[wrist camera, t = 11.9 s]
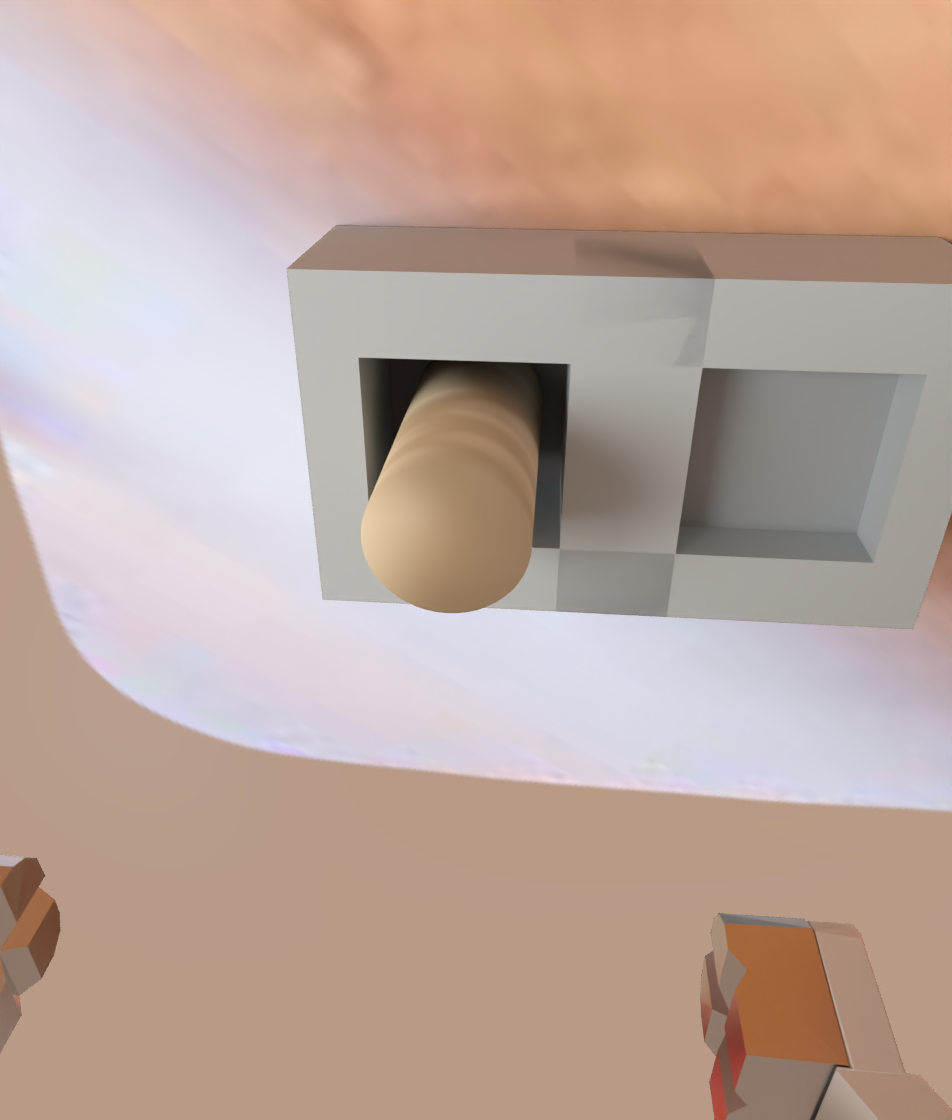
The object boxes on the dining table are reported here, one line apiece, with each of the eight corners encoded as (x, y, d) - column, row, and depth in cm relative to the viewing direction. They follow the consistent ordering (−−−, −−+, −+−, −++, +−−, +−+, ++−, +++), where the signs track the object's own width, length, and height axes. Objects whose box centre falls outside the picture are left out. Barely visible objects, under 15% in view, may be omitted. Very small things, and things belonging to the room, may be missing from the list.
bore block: (939, 236, 23) (1026, 286, 18) (858, 535, 27) (913, 629, 23) (335, 225, 24) (286, 269, 20) (358, 514, 28) (322, 599, 24)
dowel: (545, 341, 24) (535, 468, 17) (539, 460, 26) (528, 617, 19) (416, 336, 24) (355, 460, 17) (419, 455, 26) (365, 607, 19)
